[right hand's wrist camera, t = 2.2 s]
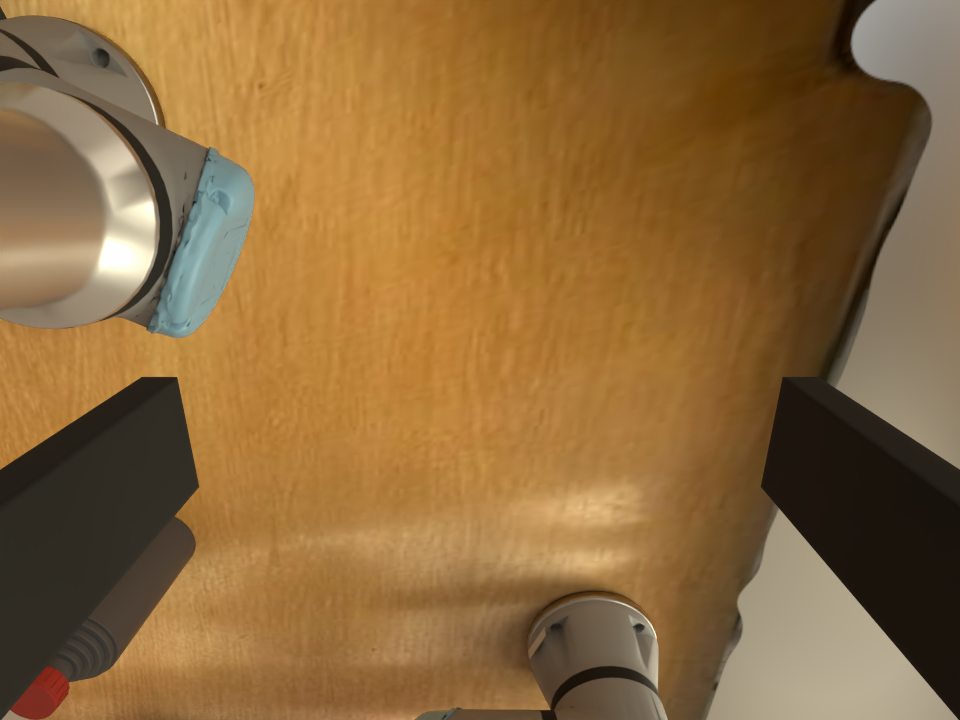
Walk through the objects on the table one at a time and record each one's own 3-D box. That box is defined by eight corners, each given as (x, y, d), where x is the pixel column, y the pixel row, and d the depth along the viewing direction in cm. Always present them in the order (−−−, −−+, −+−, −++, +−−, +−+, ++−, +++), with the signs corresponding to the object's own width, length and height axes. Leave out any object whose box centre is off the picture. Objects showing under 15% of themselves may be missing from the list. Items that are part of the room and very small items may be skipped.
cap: (71, 703, 46) (57, 723, 45) (21, 696, 46) (4, 716, 45) (69, 668, 45) (54, 687, 43) (16, 660, 45) (-1, 679, 43)
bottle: (194, 571, 64) (82, 735, 46) (129, 560, 63) (-11, 722, 45) (196, 518, 61) (77, 670, 43) (128, 507, 61) (-20, 656, 43)
